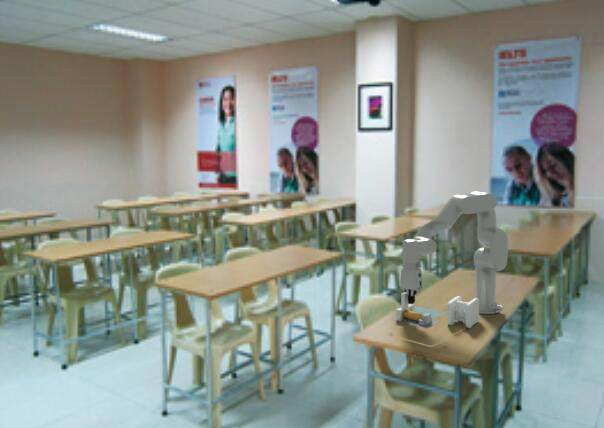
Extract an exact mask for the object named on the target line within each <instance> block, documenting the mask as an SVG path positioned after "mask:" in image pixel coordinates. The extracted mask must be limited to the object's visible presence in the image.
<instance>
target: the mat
mask: <svg viewBox="0 0 604 428" xmlns="http://www.w3.org/2000/svg"><path fill="white" fill-rule="evenodd" d="M407 310H408V309H407ZM414 312H418V313H422V314H425V313H429V314H431V317H432V319H433V320H436V319H437V318H439V317H441V316H443V315H447V312H443V311H439V310H436V309H435V310H434V309H429V308H424V307H421V306H415V305H414Z"/></svg>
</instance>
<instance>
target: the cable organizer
mask: <svg viewBox="0 0 604 428" xmlns="http://www.w3.org/2000/svg"><path fill="white" fill-rule="evenodd" d="M445 307H446V323H447V324H446V325H448V326H453V325H455V324H456V325H457V324H459V323H458V322H463V324H462V325H465V327H466V328H468V329H471V328H472V327H473V326H474V325H475V324H477V323H478V322H479V319H480V313H479V299H478V298H476V297H474V298H473V299H471V300H470V301H463V298H462V296H461V295H457V296H455V297H454V298H452V299H451V300H449V301H448V302H447V303H446V305H445Z"/></svg>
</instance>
